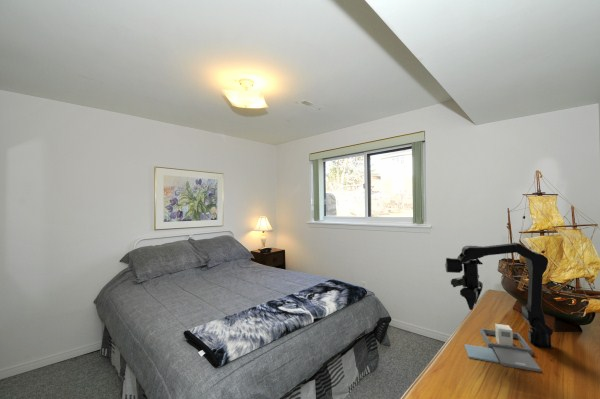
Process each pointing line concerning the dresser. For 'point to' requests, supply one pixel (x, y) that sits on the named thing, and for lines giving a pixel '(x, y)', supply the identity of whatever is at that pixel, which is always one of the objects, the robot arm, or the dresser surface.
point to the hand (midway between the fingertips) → (472, 306)
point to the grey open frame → (512, 352)
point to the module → (504, 334)
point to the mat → (481, 353)
